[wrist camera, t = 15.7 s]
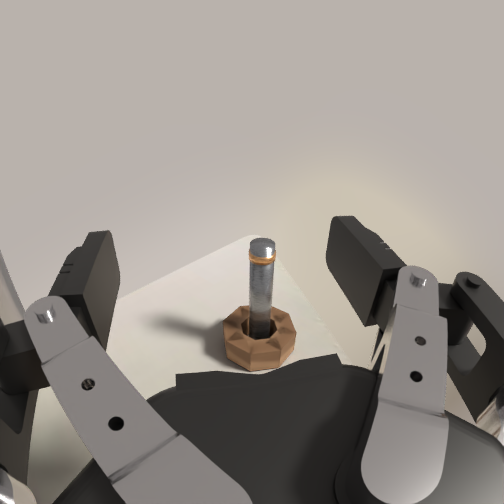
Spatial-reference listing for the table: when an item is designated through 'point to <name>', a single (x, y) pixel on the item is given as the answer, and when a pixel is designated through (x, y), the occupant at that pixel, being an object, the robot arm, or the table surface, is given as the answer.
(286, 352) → the bead
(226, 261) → the table surface
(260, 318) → the banded metal pin
